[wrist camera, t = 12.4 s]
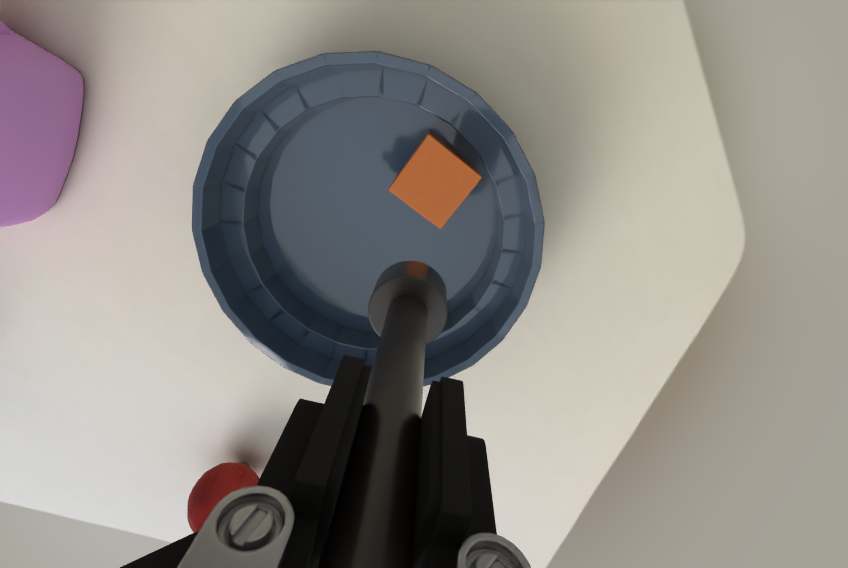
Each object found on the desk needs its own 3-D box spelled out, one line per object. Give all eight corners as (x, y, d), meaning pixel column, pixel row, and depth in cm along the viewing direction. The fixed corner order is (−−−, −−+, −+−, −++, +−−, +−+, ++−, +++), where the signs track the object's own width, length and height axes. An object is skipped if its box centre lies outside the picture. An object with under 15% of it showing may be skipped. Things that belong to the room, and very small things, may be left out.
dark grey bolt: (455, 270, 19) (493, 628, 5) (436, 334, 20) (430, 756, 7) (382, 252, 18) (243, 577, 5) (368, 317, 20) (223, 719, 6)
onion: (244, 497, 42) (203, 580, 35) (200, 460, 40) (147, 539, 33) (287, 471, 41) (253, 552, 33) (243, 432, 39) (198, 508, 32)
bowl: (569, 108, 28) (599, 108, 23) (478, 374, 36) (485, 419, 31) (242, 22, 26) (196, 3, 21) (224, 319, 35) (188, 356, 29)
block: (476, 168, 29) (482, 177, 25) (440, 214, 30) (440, 229, 26) (429, 129, 28) (428, 133, 24) (393, 179, 29) (387, 190, 26)
